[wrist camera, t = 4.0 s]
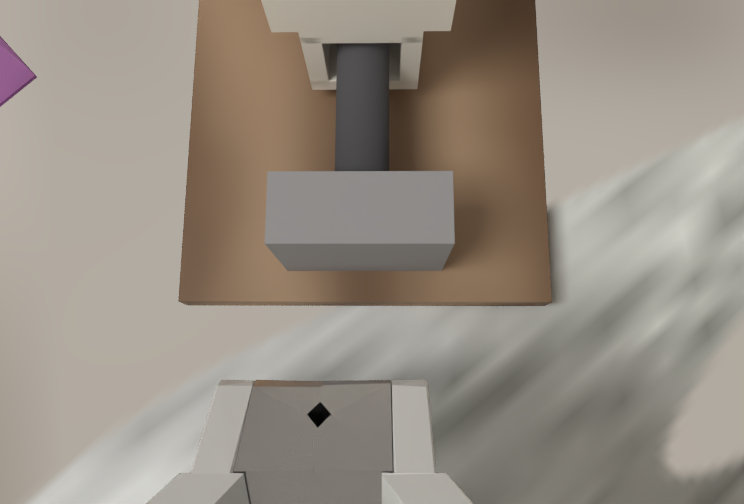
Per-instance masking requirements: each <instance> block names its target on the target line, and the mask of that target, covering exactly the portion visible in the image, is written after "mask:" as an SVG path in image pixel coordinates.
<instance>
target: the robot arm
mask: <svg viewBox="0 0 744 504" xmlns="http://www.w3.org/2000/svg"><path fill="white" fill-rule="evenodd" d="M146 504H473V502H472V501H471V500H470V499H469V498H468V497H467V496H466V494H465V493H464V492H463V491H462V490H461V489H460V487H459V486H458V485H457V484H456V483H455V482H454V480H453V479H452V478H451V477H450V476H449V475H448V473H436V463H435V453H434V442H433V432H432V422H431V411H430V401H429V390H428V384H427V382H426V380H392V381H390V380H367V381H279V380H256V381H245V380H221V381H220V383H219V384H218V386H217V387H216V389H215V392H214V395H213V399H212V402H211V405H210V409H209V412H208V415H207V419H206V422H205V425H204V429H203V432H202V435H201V439H200V442H199V445H198V449H197V452H196V456H195V459H194V462H193V466H192V469H191V472H190V473H179V474H178V475H177V476H176V477H175V478H174V479H173V480H172V481H170V482H169V483H168V484H167V485H166V486H165V487H164V488H163V489H162V490H161V491H160V492H158V493H157V494H156V495H155V496H154V497H153V498H152V499H151V500H150V501H149V502H147V503H146Z"/></svg>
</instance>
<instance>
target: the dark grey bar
mask: <svg viewBox="0 0 744 504" xmlns="http://www.w3.org/2000/svg"><path fill="white" fill-rule="evenodd" d="M454 244H455V235H454V193H453V171H389V43H337V77H336V135H335V171H267V195H266V220H265V245H266V246H267V247H268V248H269V250H270V251H271V252H272V253H273V254H274V256H275V257H276V258H277V259H278V260H279V261H280V263H281V264H282V265H283V266H284V267H285V269H286V270H287V271H442V269H443V267H444V265H445V263H446V260H447V258H448V256H449V254H450V252H451V250H452V248H453V246H454Z"/></svg>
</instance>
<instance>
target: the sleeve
mask: <svg viewBox="0 0 744 504" xmlns="http://www.w3.org/2000/svg"><path fill="white" fill-rule="evenodd" d="M261 1H262V5H263V8H264V11H265V14H266V17H267V20H268V23H269V26H270V30H271V32H298V34H299V38H300V42H301V46H302V50H303V54H304V58H305V62H306V66H307V70H308V74H309V79H310V83H311V87H312V90H336V77H337V43H389V89H417V88H418V79H419V69H420V60H421V51H422V42H423V33H424V31H451V27H452V21H453V16H454V10H455V5H456V0H261Z"/></svg>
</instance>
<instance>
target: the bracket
mask: <svg viewBox="0 0 744 504" xmlns="http://www.w3.org/2000/svg"><path fill="white" fill-rule="evenodd" d="M36 78H37V76H36V75H35V74H34V73H33V72H32V71H31V70H30V68H29V67H28V66H27V65H26V64H25V63H24V62H23V61H22V60H21V59H20V57H19V56H18V55H17V54H16V53H15V52H14V51H13V50H12V49H11V47H10V46H9V45H8V44H7V43H6V42H5V41H4V40H3V39H2V38H1V36H0V107H1V106H2V105H3V104H4V103H6V102H7V101H8V100H9V99H11V98H12V97H13V96H14V95H16V94H17V93H18V92H20V91H21V90H22V89H23V88H24V87H26V86H27V85H28V84H29V83H31V82H32V81H33V80H34V79H36Z"/></svg>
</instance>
